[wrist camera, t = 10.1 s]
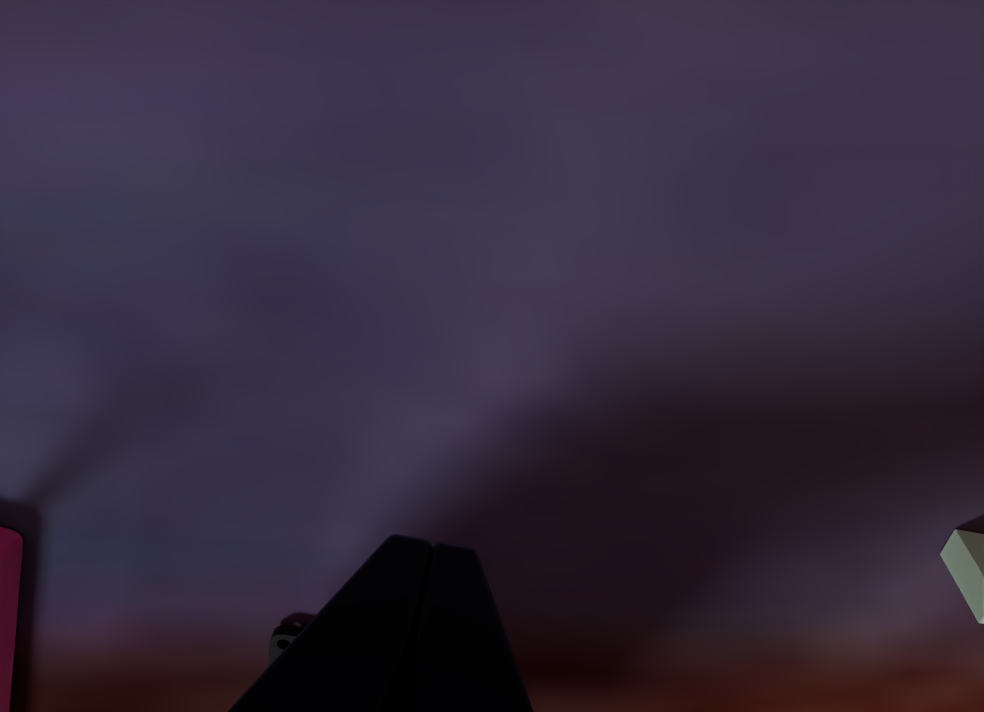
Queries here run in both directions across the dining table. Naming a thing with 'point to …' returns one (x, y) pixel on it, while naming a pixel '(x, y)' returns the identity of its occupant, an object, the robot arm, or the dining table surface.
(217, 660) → the dining table surface
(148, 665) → the dining table surface
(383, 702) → the robot arm
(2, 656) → the file sorter
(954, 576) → the corral
